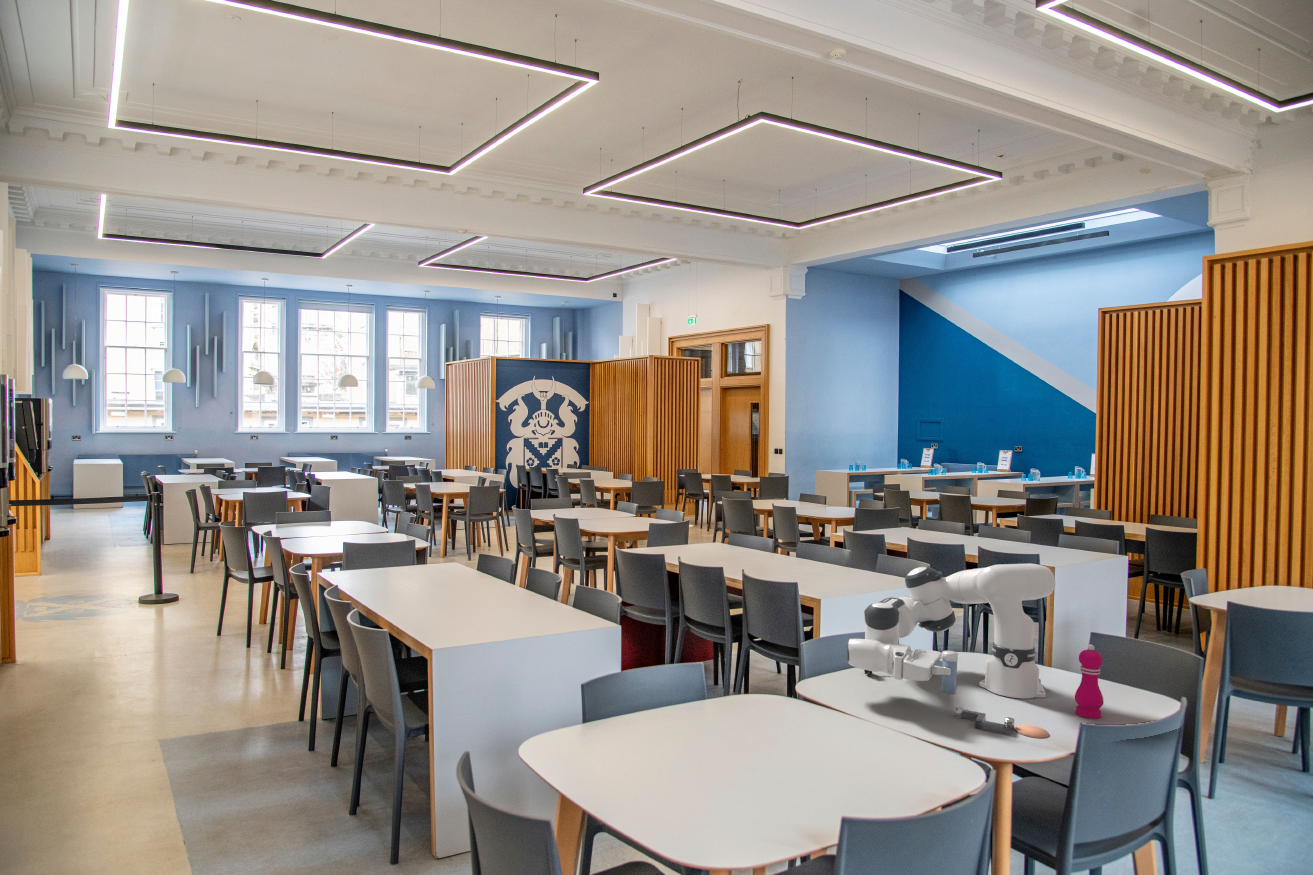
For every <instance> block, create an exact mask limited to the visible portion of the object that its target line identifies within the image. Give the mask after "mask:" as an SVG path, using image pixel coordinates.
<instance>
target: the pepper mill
mask: <svg viewBox="0 0 1313 875" xmlns="http://www.w3.org/2000/svg"><path fill="white" fill-rule="evenodd" d="M1078 661H1079V663H1080V664H1081V665H1080V670H1079V671H1080V672H1081V680H1080V683H1079V686H1078V688H1076V691H1075V693H1074V701H1075V703H1076V704H1077V706H1075V713H1077V714H1078V716H1079V715H1080V717H1081V716H1083V717H1082V718H1085V717H1087V718H1086V719H1090V718H1092V719H1091V720H1099V719H1101V717H1102V710H1101V708H1102V707H1103V705H1104V695H1103V693H1102V691H1101V689H1100V685H1099V675H1101V668H1100V667H1101V666H1102V665H1103V656H1102V654H1101V653H1100V652H1098V651H1097V650H1096V649H1095V646H1094V645H1093V644H1088V645H1087V649H1084V650H1082V651H1081V652H1079V655H1078ZM1077 714H1076V715H1077Z"/></svg>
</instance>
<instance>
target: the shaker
mask: <svg viewBox="0 0 1313 875" xmlns="http://www.w3.org/2000/svg"><path fill="white" fill-rule="evenodd" d="M958 657H959V653H958V652H956V651H953V650H943V651H942V660H943V665H942V667H950V668H952V673H951V675H945V674H941V691H940V692H942V694H946V695H956V694H957V677H958V676H957V675H958V660H959V658H958Z"/></svg>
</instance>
